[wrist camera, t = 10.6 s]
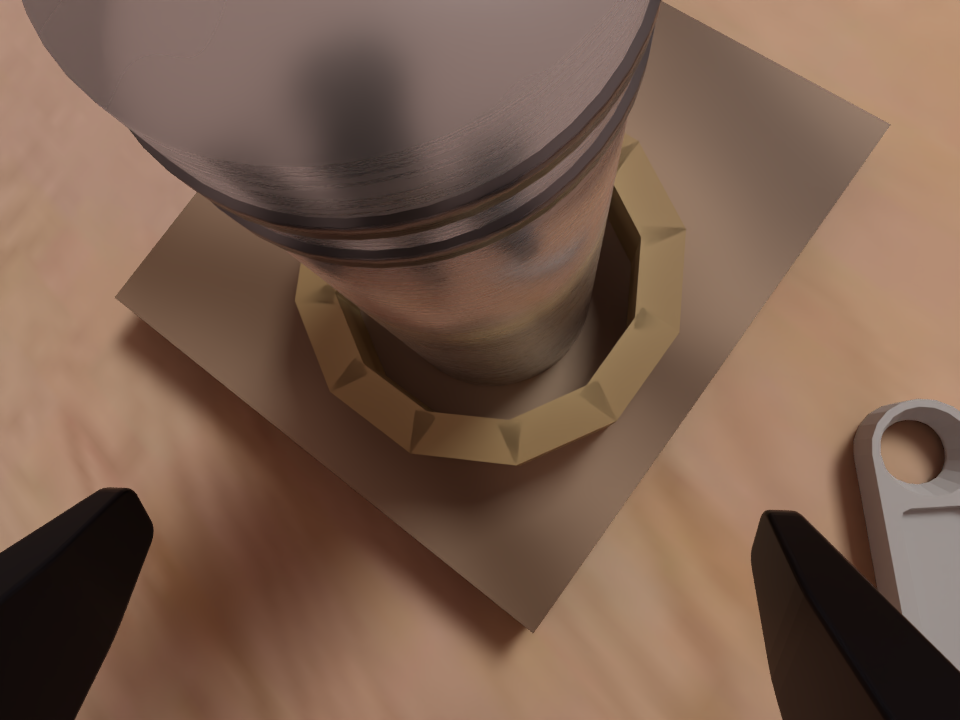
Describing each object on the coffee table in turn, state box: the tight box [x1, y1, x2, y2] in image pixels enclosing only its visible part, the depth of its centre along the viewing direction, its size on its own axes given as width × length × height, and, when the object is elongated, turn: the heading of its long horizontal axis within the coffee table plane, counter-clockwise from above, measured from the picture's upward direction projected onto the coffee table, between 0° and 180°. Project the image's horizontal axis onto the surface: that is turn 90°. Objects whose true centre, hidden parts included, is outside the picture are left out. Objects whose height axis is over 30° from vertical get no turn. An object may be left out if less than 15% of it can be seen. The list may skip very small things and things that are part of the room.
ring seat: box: [115, 1, 891, 633], centre depth 17 cm, size 16×15×4 cm
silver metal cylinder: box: [22, 0, 661, 386], centre depth 11 cm, size 5×5×12 cm
